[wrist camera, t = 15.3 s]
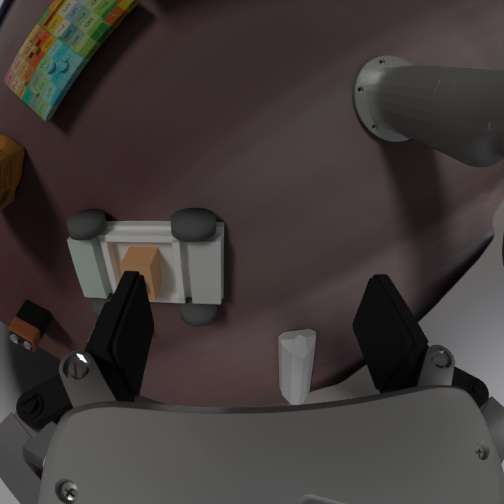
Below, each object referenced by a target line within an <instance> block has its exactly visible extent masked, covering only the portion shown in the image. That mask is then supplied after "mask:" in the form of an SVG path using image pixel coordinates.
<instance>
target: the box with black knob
mask: <svg viewBox="0 0 504 504" xmlns="http://www.w3.org/2000/svg"><path fill="white" fill-rule="evenodd" d="M119 267H120V271H121V275H123V273H124V271H139V273H140V275H144V278H145V283H146V288H147V293H148V298H149V301H156V299H157V295H158V292H159V289H160V285H161V282H162V275H161V268H160V261H159V253H158V247H129V249H128V250H127V252H126V254H125V256H124V258H123V260H122V262H121V263H120V265H119Z"/></svg>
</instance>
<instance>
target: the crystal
mask: <svg viewBox="0 0 504 504" xmlns="http://www.w3.org/2000/svg"><path fill="white" fill-rule="evenodd" d="M315 344H316V331H314V330H311V329H303V330H296V331H288V332H284V333H282V334H281V335H279V336H278V349H279V383H280V389H281V392H282V395H283V396H284V397H285V398H286V399H287V401H288V402H289V403H290V404H293V405H301V404H302V403H303V402H305V399H306V397H307V395H308V393H309V389H310V382H311V375H312V368H313V360H314V352H315Z"/></svg>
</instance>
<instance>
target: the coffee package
mask: <svg viewBox="0 0 504 504" xmlns="http://www.w3.org/2000/svg"><path fill="white" fill-rule="evenodd" d="M24 154H25V150H24V148H23V147H22V146H21V145H19V144H17V143H16V142H15V141H13V140H12V139H10V138H8V137H6V136H4V135H2V134H0V211H1V210H2V209H4V208H5V207H6V206H7V205H9V204H10V203H11V202H13V201H14V199H15V190H16V187H17V185H18V183H19V181H20V179H21V176H22V171H23V159H24Z"/></svg>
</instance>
